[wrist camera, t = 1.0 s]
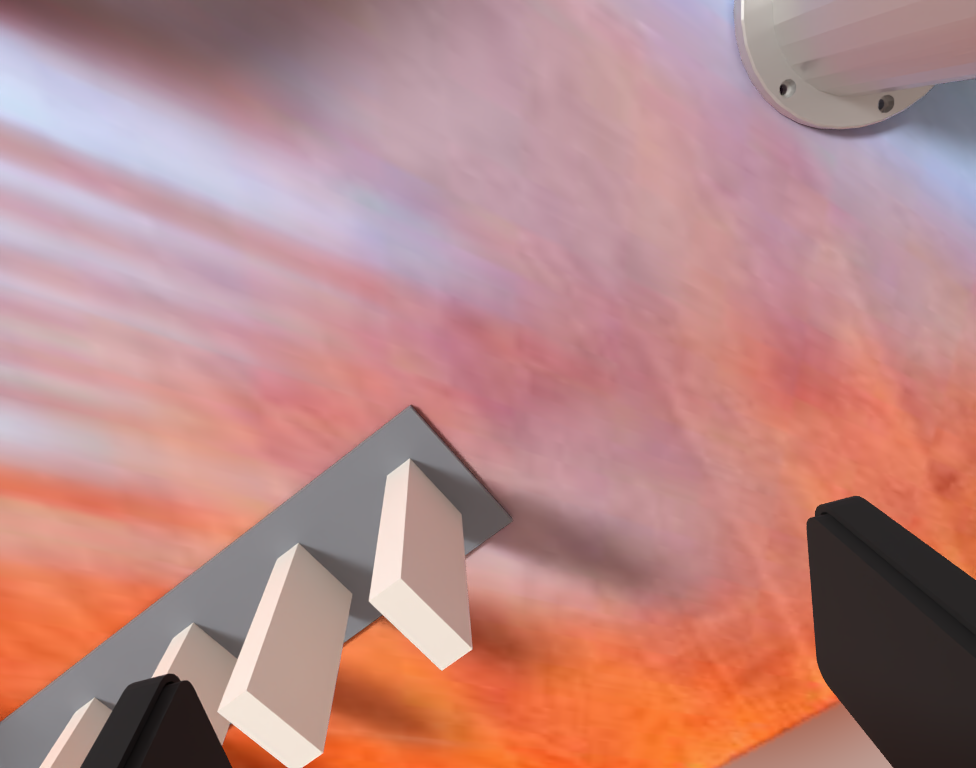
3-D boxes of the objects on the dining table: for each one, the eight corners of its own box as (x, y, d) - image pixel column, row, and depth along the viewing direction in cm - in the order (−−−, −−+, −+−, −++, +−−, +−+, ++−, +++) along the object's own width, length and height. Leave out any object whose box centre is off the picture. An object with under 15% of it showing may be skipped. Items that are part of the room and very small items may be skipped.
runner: (410, 404, 39) (410, 407, 38) (511, 517, 42) (512, 521, 41) (-65, 772, 44) (-69, 777, 44) (54, 848, 47) (51, 853, 47)
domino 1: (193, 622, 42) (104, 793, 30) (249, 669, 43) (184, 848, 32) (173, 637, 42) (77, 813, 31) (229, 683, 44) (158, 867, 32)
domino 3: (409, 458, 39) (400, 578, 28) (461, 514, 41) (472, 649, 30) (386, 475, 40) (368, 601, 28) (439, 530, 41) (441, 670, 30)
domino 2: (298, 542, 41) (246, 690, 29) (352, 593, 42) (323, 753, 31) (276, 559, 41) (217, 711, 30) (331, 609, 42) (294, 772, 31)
